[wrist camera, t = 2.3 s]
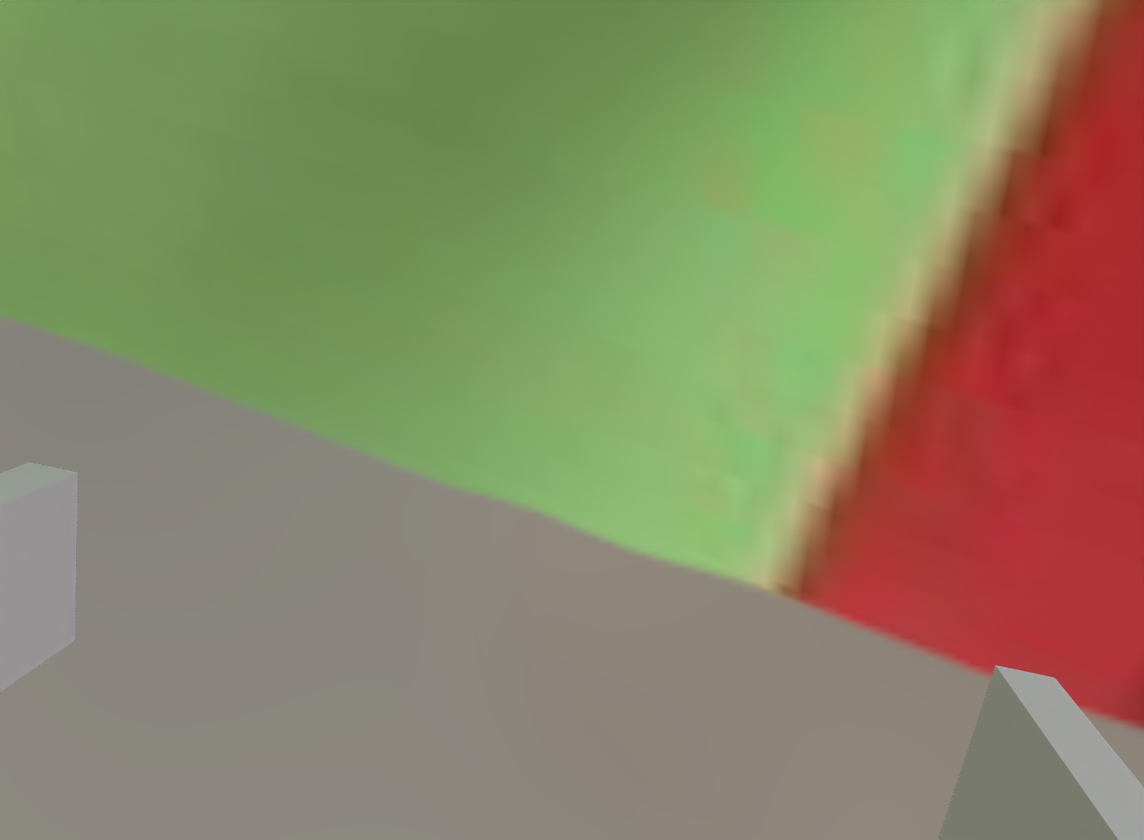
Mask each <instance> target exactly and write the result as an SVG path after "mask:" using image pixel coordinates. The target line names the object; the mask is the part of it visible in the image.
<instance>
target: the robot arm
mask: <svg viewBox="0 0 1144 840" xmlns="http://www.w3.org/2000/svg"><path fill="white" fill-rule="evenodd" d="M77 495H78V472H72V471H68V470H63V469H59V468H54V467H49V466H44V465H39V464H35V463H30V462H29V463H27V464H24V465H21V466H18V467H16V468H13V469H10V470H8V471H5V472H2V473H0V692H2V691H3V690H5V689H6V688H8V687H9V686H10V685H12V684H13V683H14V682H16V681H17V680H19V679H20V678H22V677H23V676H25V675H26V674H27V673H29V672H30V671H32V670H33V669H35V668H36V667H38V666H39V665H40V664H42V663H43V662H45V661H46V660H48V659H49V658H51V657H52V656H53V655H55V654H56V653H58V652H59V651H61V650H62V649H63V648H65V647H66V646H68V645H69V644H71V643H72V642H73V641H75V609H76V608H75V607H76V552H77V551H76V550H77V549H76V548H77V497H78V496H77ZM939 839H940V840H1144V787H1143V786H1142V785H1141V784H1140V782H1139V781H1138V780H1137V779H1136V777H1135V776H1134V775H1133V774H1132V772H1131V771H1130V770H1129V769H1128V767H1127V766H1126V765H1125V764H1124V763H1123V761H1122V760H1121V759H1120V758H1119V756H1118V755H1117V754H1116V753H1115V752H1114V750H1113V749H1112V748H1111V747H1110V745H1109V744H1108V743H1107V742H1106V740H1105V739H1104V738H1103V737H1102V735H1100V733H1099V732H1098V731H1097V729H1096V728H1095V727H1094V726H1093V724H1092V723H1091V722H1090V721H1089V719H1088V718H1087V717H1086V716H1085V715H1084V713H1083V712H1082V711H1081V710H1080V708H1079V707H1078V706H1077V705H1076V703H1075V702H1074V701H1073V700H1072V699H1071V697H1070V696H1069V695H1068V694H1067V692H1066V691H1065V690H1064V689H1063V687H1062V686H1061V685H1060V684H1059V683H1058V681H1057V680H1056V679H1055V678H1053V677H1048V676H1044V675H1039V674H1034V673H1029V672H1025V671H1020V670H1015V669H1010V668H1006V667H1001V666H995V669H994V672H993V675H992V678H991V681H990V684H989V687H988V690H987V693H986V696H985V700H984V702H983V705H982V708H981V711H980V714H979V717H978V720H977V724H976V727H975V730H974V732H973V736H972V738H971V742H970V744H969V747H968V750H967V754H966V757H965V760H964V763H963V766H962V769H961V772H960V775H959V778H958V781H957V784H956V787H955V790H954V793H953V796H952V799H951V802H950V805H949V808H948V811H947V814H946V817H945V820H944V823H943V826H942V829H941V832H940V835H939Z"/></svg>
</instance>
